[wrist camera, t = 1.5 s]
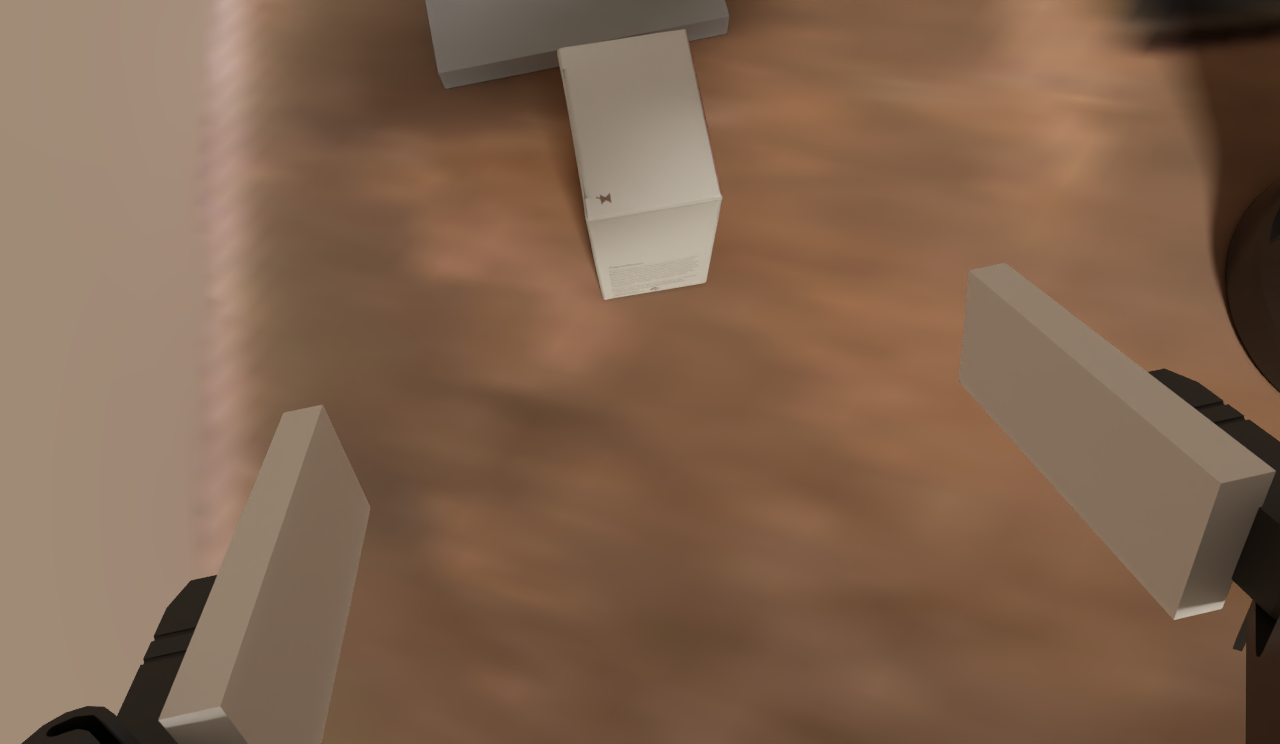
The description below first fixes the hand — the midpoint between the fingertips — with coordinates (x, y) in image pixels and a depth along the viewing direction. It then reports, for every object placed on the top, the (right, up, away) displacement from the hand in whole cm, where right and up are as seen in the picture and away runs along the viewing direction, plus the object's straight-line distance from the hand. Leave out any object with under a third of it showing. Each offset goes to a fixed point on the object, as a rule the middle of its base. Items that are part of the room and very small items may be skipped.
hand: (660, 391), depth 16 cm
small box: (0, +8, +26) cm, 27 cm away
